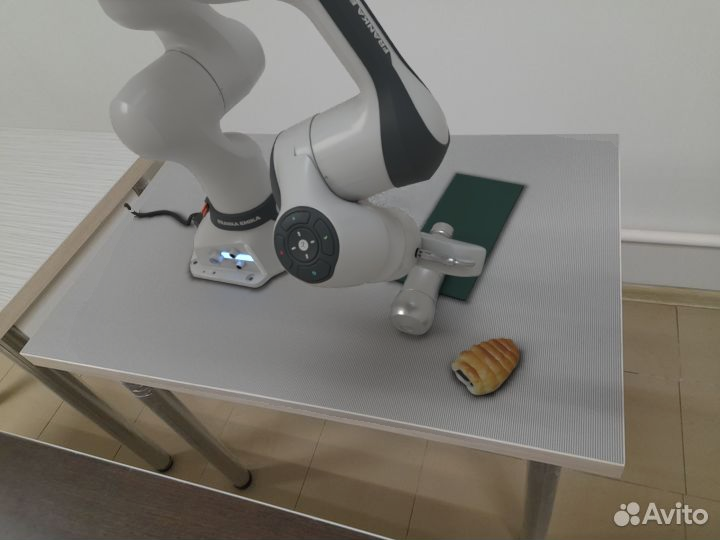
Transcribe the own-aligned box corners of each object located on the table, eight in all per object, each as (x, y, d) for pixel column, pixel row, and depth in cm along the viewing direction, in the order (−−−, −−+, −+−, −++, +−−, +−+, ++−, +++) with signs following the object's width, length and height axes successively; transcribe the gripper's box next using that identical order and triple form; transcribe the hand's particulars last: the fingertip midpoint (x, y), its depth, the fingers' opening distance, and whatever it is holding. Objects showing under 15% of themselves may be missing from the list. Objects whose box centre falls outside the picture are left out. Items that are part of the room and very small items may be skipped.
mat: (465, 301, 81) (465, 299, 81) (391, 279, 87) (391, 278, 87) (523, 186, 96) (523, 185, 95) (456, 174, 101) (456, 173, 101)
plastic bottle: (428, 321, 73) (464, 220, 84) (382, 310, 75) (423, 212, 86) (429, 344, 78) (463, 246, 89) (386, 333, 80) (424, 238, 91)
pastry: (497, 334, 76) (497, 319, 74) (532, 365, 72) (533, 350, 69) (447, 370, 74) (445, 356, 71) (480, 405, 70) (479, 391, 67)
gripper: (473, 237, 55) (503, 237, 68) (315, 200, 65) (367, 206, 77) (459, 294, 56) (492, 284, 69) (306, 250, 66) (359, 248, 78)
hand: (425, 243), depth 73 cm, fingers closed
